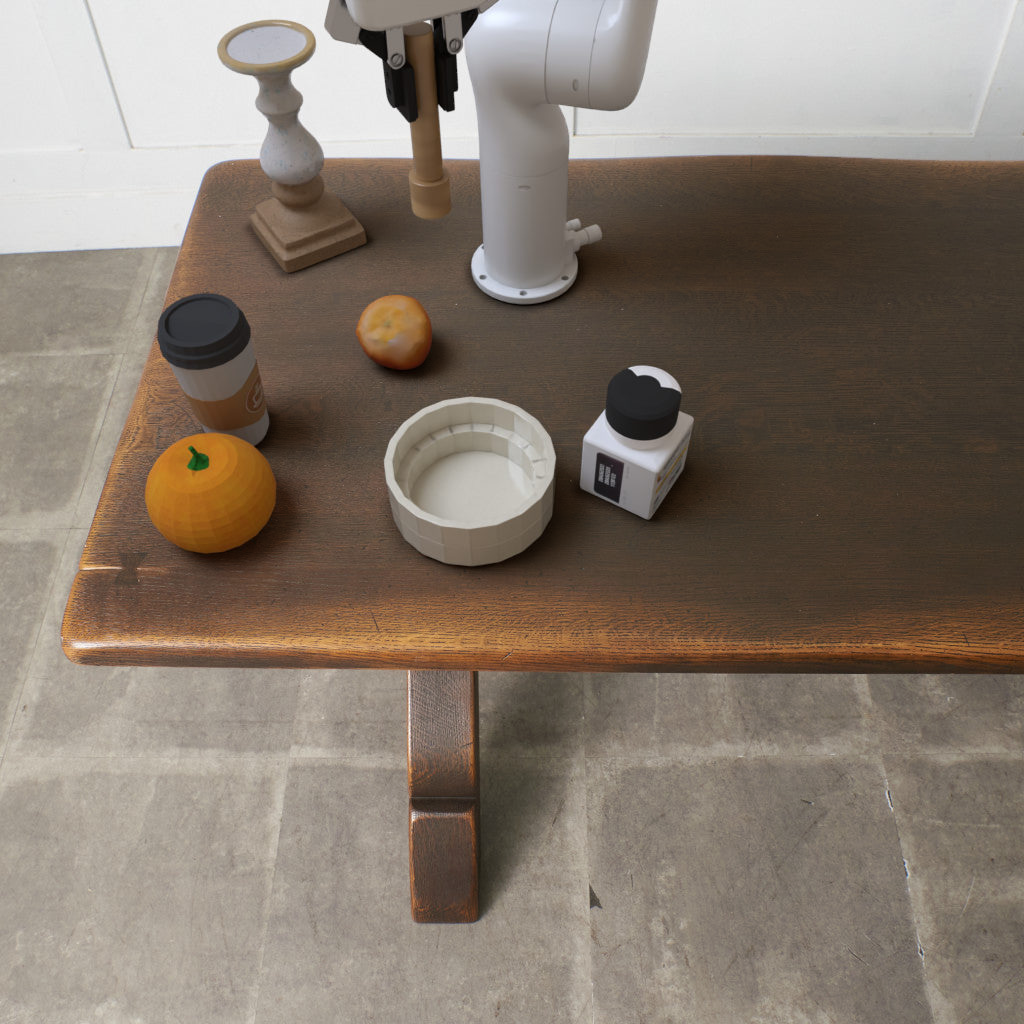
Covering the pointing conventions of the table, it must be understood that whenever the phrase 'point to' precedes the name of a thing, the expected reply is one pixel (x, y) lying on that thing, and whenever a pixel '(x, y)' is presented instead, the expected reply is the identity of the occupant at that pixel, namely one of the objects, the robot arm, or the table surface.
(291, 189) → the candle holder
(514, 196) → the robot arm
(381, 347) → the fruit
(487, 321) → the table surface
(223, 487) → the fruit
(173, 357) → the coffee cup
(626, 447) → the container
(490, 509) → the bowl
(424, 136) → the wooden pestle
